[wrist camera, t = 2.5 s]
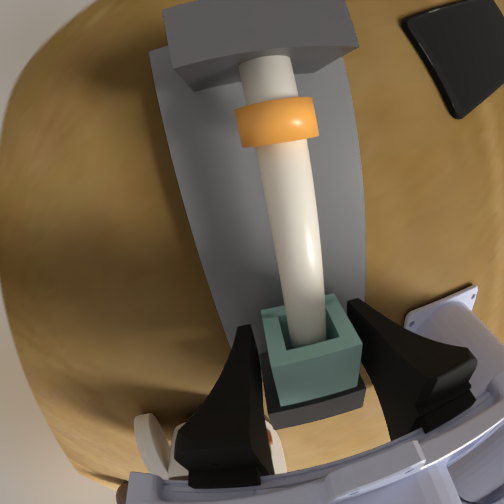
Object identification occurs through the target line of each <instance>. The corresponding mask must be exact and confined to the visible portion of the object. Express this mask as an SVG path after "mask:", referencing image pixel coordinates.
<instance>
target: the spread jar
mask: <svg viewBox="0 0 504 504" xmlns="http://www.w3.org/2000/svg"><path fill="white" fill-rule="evenodd" d="M192 416H193V415H191V416H189V417H187V418H186V419H184V420H183V421H182V422H180V423H179V424H178V425H177V426H176V428H175V430H174V432H173V435H172V439H171V446H169V443H168V441H167V439H166V436H165V434H164V432H163V430H162V428H161V426H160V424H159V422H158V420H157V419H156V417H155V416H154V415H153V414H152V413H148V414H143V415H138V416H136V417H135V419H134V432H135V437H136V441H137V445H138V448H139V451H140V454H141V456H142V459H143V461H144V463H145V465H146V467H147V469H148V470H149V472H150V474H154V475H158V476H160V477H161V478H162V479H163V480H183V481H188V470H187V469H185V468H184V467H183V466H181V465H180V464H179V463H178V462H177V461H176V460H175V459H174V447H175V440H176V436H177V432H178V430H179V429H180V428H181V427H182V426H183V425H184V424H185V423H186V422H187V421H188V420H189V419H190V418H191V417H192ZM264 416H265V415H264ZM265 422H266V428H267V434H268V440H269V445H270V451H271V456H272V461H273V467H274V472H275V474H281V473H287V469H286V463H285V458H284V453H283V449H282V445H281V442H280V439H279V436H278V434H277V432H276V430H273V427H272V424H271V421H270V420H269V419H268V417H267V416H265Z"/></svg>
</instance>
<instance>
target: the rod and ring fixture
mask: <svg viewBox="0 0 504 504" xmlns="http://www.w3.org/2000/svg"><path fill="white" fill-rule="evenodd" d="M162 13H163V19H164V24H165V30H166V35H167V41H168V46H164V47H161V48H158V49H155V50H152V51H149V57H150V63H151V68H152V73H153V78H154V83H155V88H156V93H157V98H158V102H159V107H160V111H161V116H162V120H163V125H164V129H165V133H166V137H167V141H168V146H169V150H170V154H171V158H172V162H173V165H174V169H175V173H176V177H177V181H178V184H179V188H180V192H181V195H182V199H183V203H184V206H185V210H186V213H187V217H188V220H189V224H190V227H191V230H192V234H193V237H194V240H195V244H196V247H197V250H198V253H199V257H200V260H201V263H202V266H203V269H204V272H205V276H206V279H207V282H208V285H209V288H210V291H211V294H212V297H213V300H214V303H215V306H216V309H217V311H218V314H219V317H220V320H221V323H222V326H223V329H224V331H225V334H226V337H227V340H228V343H229V345H230V348H232V346H233V342H234V339H235V335H236V330H237V327H238V326H242V325H247V324H251V327H252V331H253V334H254V338H255V342H256V345H257V349H258V353H259V359H260V365H261V374H262V379H263V383H264V390H265V397H266V404H267V410H268V415H269V418H270V421H271V424H272V427H273V430H277V429H282V428H287V427H292V426H297V425H301V424H305V423H309V422H313V421H317V420H321V419H325V418H329V417H332V416H335V415H339V414H342V413H345V412H349V411H352V410H355V409H358V408H361V407H362V406H363V401H364V397H365V392H366V387H365V384H364V382H363V380H362V378H361V376H360V374H359V377H358V384H357V386H356V387H353V388H350V389H347V390H344V391H341V392H337V393H334V394H330V395H327V396H323V397H319V398H316V399H312V400H308V401H304V402H299V403H295V404H291V405H286V406H281V405H280V401H279V397H278V393H277V389H276V385H275V381H274V377H273V373H272V369H271V365H270V359H269V353H268V348H267V342H266V337H265V331H264V326H263V320H262V315H261V310H265V309H269V308H274V307H278V306H283V305H285V311H286V317H287V323H288V329H289V336H290V342H291V349H296V348H300V347H304V346H308V345H312V344H316V343H320V342H323V341H327V337H326V312H325V295H329V294H333V293H334V294H335V296H336V298H337V299H338V301H339V303H340V305H341V306H342V308H343V310H344V311H345V313H346V315H347V301H348V300H352V299H355V298H359V299H360V300H362V301H363V302H365V280H366V231H365V207H364V191H363V178H362V168H361V158H360V149H359V141H358V134H357V127H356V121H355V114H354V108H353V103H352V97H351V92H350V87H349V82H348V78H347V73H346V69H345V64H344V60H343V56H344V55H345V54H347V53H349V52H351V51H353V50H354V49H356V48H358V47H359V44H358V40H357V37H356V33H355V30H354V27H353V23H352V20H351V17H350V14H349V11H348V8H347V5H346V2H345V0H198V1H193V2H189V3H185V4H181V5H178V6H174V7H170V8H167V9H164V10H162Z"/></svg>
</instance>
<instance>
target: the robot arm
mask: <svg viewBox="0 0 504 504" xmlns="http://www.w3.org/2000/svg"><path fill="white" fill-rule="evenodd" d="M477 291H478V287H477V286H476V285H475V284H474V285H472V286H470V287H467V288H465V289H463V290H461V291H459V292H456V293H454V294H452V295H450V296H447V297H445V298H443V299H440V300H438V301H435V302H433V303H430V304H428V305H425V306H423V307H420V308H418V309H415V310H412V311H410V312H409V313H408V314H407V315H406V318H405V322H404V327H401V326H400V325H398V324H396V323H394V322H393V321H391V320H389V319H388V318H386V317H385V316H383V315H382V314H380V313H379V312H377V311H376V310H374V309H373V308H372V307H370V306H369V305H367V304H366V303H365V302H363V301H362V300H360V299H359V298H355V299H352V300H348V301H347V317H348V318H349V320H350V322H351V324H352V325H353V327H354V329H355V331H356V333H357V334H358V336H359V338H360V340H361V342H362V343H363V345H362V354H361V362H362V364H363V366H364V367H365V369H366V371H367V373H368V375H369V377H370V379H371V381H372V383H373V385H374V388H375V391H376V393H377V396H378V399H379V401H380V404H381V407H382V410H383V413H384V417H385V420H386V424H387V427H388V431H389V435H390V439H391V442H388V443H386V444H384V445H381V446H378V447H376V448H373V449H371V450H368V451H365V452H362V453H359V454H356V455H353V456H350V457H347V458H344V459H341V460H337V461H334V462H330V463H327V464H323V465H319V466H315V467H311V468H306V469H302V470H297V471H292V472H287V473H281V474H275V472H274V467H273V461H272V456H271V451H270V445H269V440H268V434H267V428H266V422H265V416H264V409H263V393H262V374H261V365H260V359H259V353H258V349H257V345H256V342H255V338H254V334H253V331H252V327H251V324H247V325H242V326H238V327H237V330H236V335H235V339H234V342H233V346H232V348H231V351H230V354H229V357H228V359H227V362H226V364H225V366H224V369H223V371H222V373H221V375H220V377H219V379H218V381H217V382H216V384H215V386H214V387H213V389H212V391H211V392H210V394H209V395H208V397H207V398H206V400H205V401H204V402H203V404H202V405H201V406H200V407H199V408H198V410H197V411H196V412H195V413H194V414H193V416H192V417H191V418H190V419H189V420H188V421H187V422H186V423H185V424H184V425H183V426H182V427H181V428H180V429H179V430H178V432H177V436H176V440H175V447H174V459H175V460H176V461H177V462H178V463H179V464H180V465H181V466H183V467H184V468H185V469H187V470H188V481H183V480H163V479H162V478H161V477H160V476H158V475H154V474H149V473H140V472H130V475H129V482H128V490H127V498H126V504H504V345H503V344H502V343H501V341H500V340H499V339H498V338H497V337H496V336H495V335H494V334H493V333H492V331H491V330H490V329H489V328H488V327H487V326H486V325H485V324H484V323H483V322H482V321H481V320H480V319H479V318H478V317H477V316H476V315H475V314H474V313H473V312H472V308H473V305H474V301H475V298H476V295H477Z"/></svg>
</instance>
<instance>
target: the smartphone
mask: <svg viewBox="0 0 504 504" xmlns="http://www.w3.org/2000/svg"><path fill="white" fill-rule="evenodd" d="M401 25H402V28H403V30H404V32H405V33H406V35H407V36H408V38H409V39H410V41H411V42H412V44H413V45H414V47H415V48H416V50H417V52H418V53H419V55H420V56H421V58H422V60H423V61H424V63H425V65H426V67H427V68H428V70H429V72H430V74H431V76H432V77H433V79H434V81H435V83H436V85H437V87H438V89H439V91H440V93H441V95H442V97H443V99H444V101H445V103H446V105H447V108H448V110H449V112H450V114H451V116H452V117H453V118H455V119H462V118H463V117H465V116H466V115H467V114H468V113H469V112H471V111H472V110H473V109H474V108H476V107H477V106H478V105H479V104H480V103H481V102H483V101H484V100H485V99H486V98H487V97H489V96H490V95H491V94H492V93H493V92H494V91H496V90H497V89H498V88H499V87H500V86H501V85H502V84H504V16H503V15H502V13H501V11H500V10H499V8H498V6H497V5H496V3H495V2H494V0H463V1H459V2H455V3H451V4H447V5H443V6H440V7H436V8H433V9H430V10H427V11H424V12H421V13H418V14H415V15H412V16H410V17H407V18H405V19H403V20H402V22H401ZM454 114H455V115H454Z"/></svg>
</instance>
